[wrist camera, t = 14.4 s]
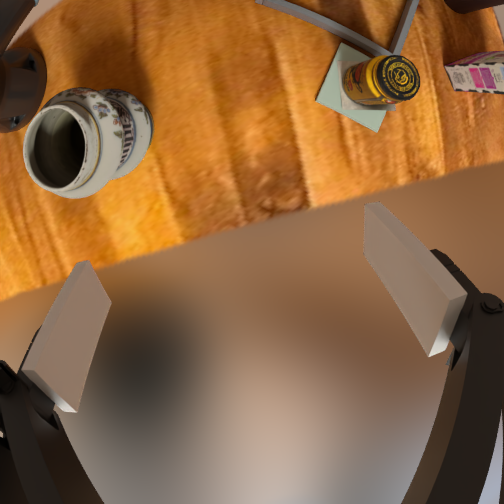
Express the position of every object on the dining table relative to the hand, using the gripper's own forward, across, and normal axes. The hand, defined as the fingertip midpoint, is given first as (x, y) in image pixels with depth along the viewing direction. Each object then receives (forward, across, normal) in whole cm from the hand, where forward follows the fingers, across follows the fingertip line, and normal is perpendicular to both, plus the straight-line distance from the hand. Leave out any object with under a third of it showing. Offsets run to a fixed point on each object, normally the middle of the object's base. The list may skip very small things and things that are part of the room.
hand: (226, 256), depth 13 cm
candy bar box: (+29, +42, +8) cm, 52 cm away
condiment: (+29, +21, +5) cm, 36 cm away
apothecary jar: (+31, -14, +4) cm, 35 cm away
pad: (+30, +20, +4) cm, 36 cm away
